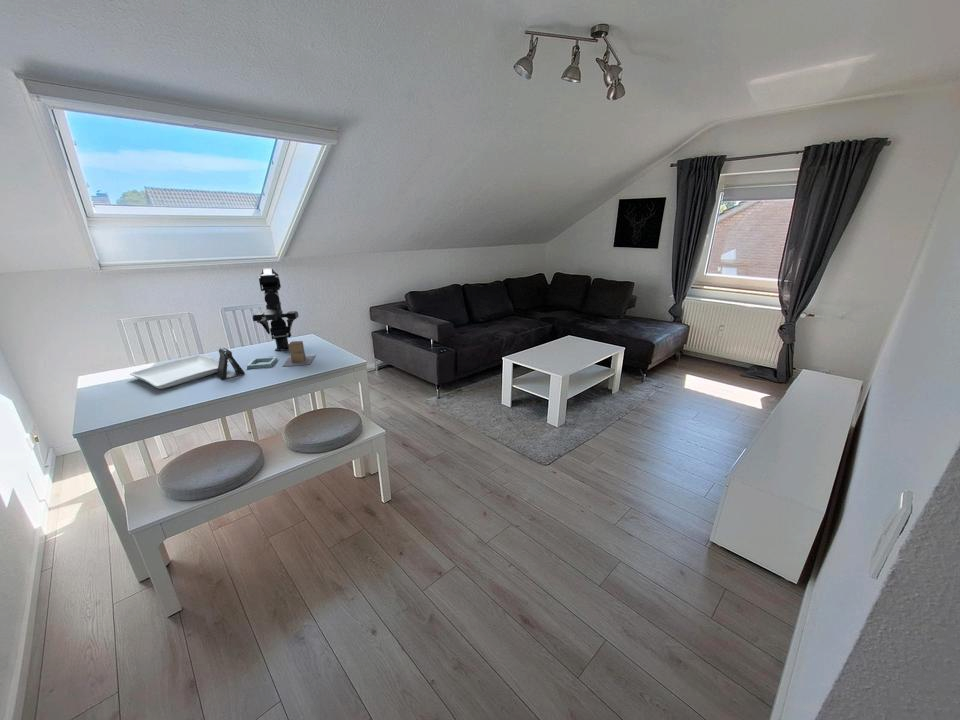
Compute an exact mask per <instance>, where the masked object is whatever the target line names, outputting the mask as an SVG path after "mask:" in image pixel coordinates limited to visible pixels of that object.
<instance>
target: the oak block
mask: <svg viewBox="0 0 960 720" xmlns="http://www.w3.org/2000/svg"><path fill="white" fill-rule="evenodd" d="M303 342H304V341H303V340H293V341H292V340H291V341H290V342H289V343H288V344H289V349H288V350H289V353H290V357H291V360H292V363H296V362H304V360H305V359H306V357H305V356H306V352H305V348H304V343H303Z"/></svg>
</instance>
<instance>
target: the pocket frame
mask: <svg viewBox="0 0 960 720" xmlns="http://www.w3.org/2000/svg"><path fill="white" fill-rule="evenodd" d="M277 361H278V357H277V356H268V357H267V356H266V357H257V358H256V357H254V358H252V359H251V360H250V362H249V363H248V364H247V365H246V369H247V370H249V369H259V368H260V369H262V368H271V367H272V366H273V365H275V363H276V362H277ZM258 362H267V363H258Z"/></svg>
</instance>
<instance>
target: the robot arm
mask: <svg viewBox="0 0 960 720" xmlns="http://www.w3.org/2000/svg"><path fill="white" fill-rule="evenodd" d="M261 271H262V272H260V274H259V277H258V281H259V286H260V291H261V292H263V294H264V302H265V303H266V304H265V307H266V308H265V311H264V312H256V313H254V314H253V315H252V321H253V322H256V323H257V324H261V326H262V327H263V328H264V330H265V332H266V333H267V334H268V335H271V340H275V345H276V348H275V349H274V351H285V350H287V351H288V350H289V344H290V343H289V340H288V338H290V337H292V326H293V323H294V321H295V320H297V319H298V318H299V317H300V316H299V312H298V311H297V310H296V311H295V310H292V311H288V312H287V313H284V312H283V311H284V310H282V303H281V300H280V294H279V290H280V289H281V288H282V286H281V280H280V277H279V273H277V272H276V271H274V268H272V267H268V268H267V267H266V268H262V270H261ZM285 318H287V319H286V320H285ZM268 321H270V325H269V322H268Z"/></svg>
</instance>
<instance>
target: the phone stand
mask: <svg viewBox="0 0 960 720" xmlns="http://www.w3.org/2000/svg"><path fill="white" fill-rule="evenodd" d="M218 353H219V359H218V361H219V365H218V371H217V372H216V377H217V378H219V379H220V380H223V381H224V380H229V379H230V378H235V377H238V376H242V375H245V374H246V373H245V371H244V369H242V367H241V366H240V364H239V363H238V362H237V361H236V359H235V358H234V357H233V352H232V351H231V350H229V349H227V348H226V347H223V348H219V349H218ZM228 362H229V363H230V365H231V366H232V368H233V370H234V371H230V372H228V366H227V364H228Z"/></svg>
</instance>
